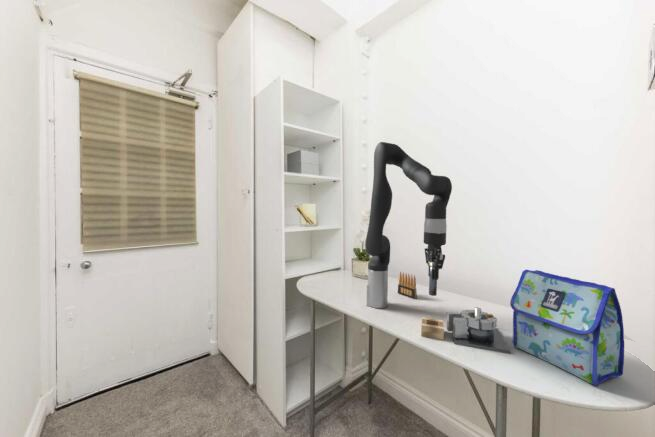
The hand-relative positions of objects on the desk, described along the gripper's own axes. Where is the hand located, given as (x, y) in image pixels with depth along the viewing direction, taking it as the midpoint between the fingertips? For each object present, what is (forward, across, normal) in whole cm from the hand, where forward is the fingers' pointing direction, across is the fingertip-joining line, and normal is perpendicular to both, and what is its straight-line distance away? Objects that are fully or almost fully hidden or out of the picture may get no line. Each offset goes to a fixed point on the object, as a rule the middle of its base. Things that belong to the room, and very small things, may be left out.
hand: (433, 277), depth 94 cm
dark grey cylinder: (+6, 0, 0) cm, 6 cm away
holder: (+21, 0, 0) cm, 21 cm away
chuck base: (+21, +3, +15) cm, 26 cm away
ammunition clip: (+21, -40, +2) cm, 45 cm away
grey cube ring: (+19, +3, +13) cm, 24 cm away
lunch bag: (+21, +17, +32) cm, 42 cm away
